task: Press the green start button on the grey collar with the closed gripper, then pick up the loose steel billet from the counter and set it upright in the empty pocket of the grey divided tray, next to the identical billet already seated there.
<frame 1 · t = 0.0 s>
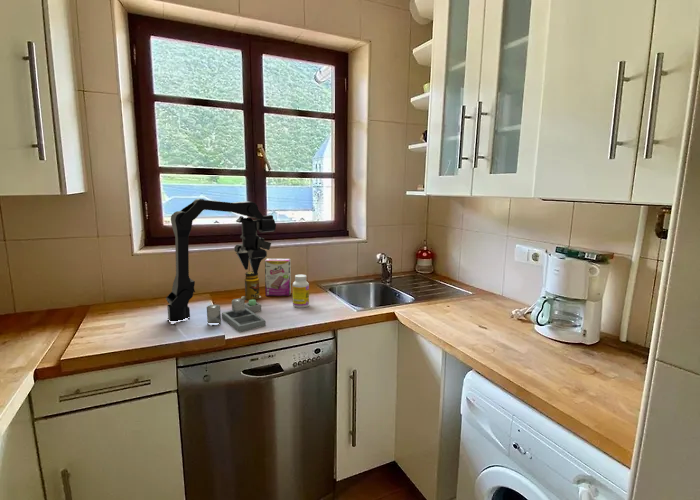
hand: (250, 271, 154), 15 cm above the counter, fingers open, 9 cm apart
condiment: (250, 299, 166), on the counter
supplement bottle: (301, 306, 158), on the counter
button collar: (252, 311, 150), on the counter
grey divided tray: (243, 323, 137), on the counter
candy bar box: (278, 295, 173), on the counter
start button: (252, 304, 150), point 3 cm above the counter, slide at 0.0 cm
billet: (214, 325, 135), on the counter
seated billet: (238, 318, 140), resting on grey divided tray
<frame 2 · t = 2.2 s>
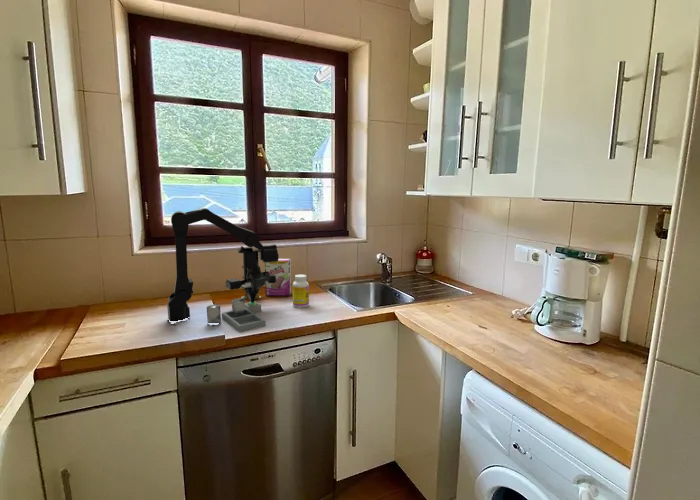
hand: (252, 302, 149), 4 cm above the counter, fingers closed, pressing on start button
start button: (252, 306, 150), point 2 cm above the counter, slide at 0.8 cm, touching gripper
everything else where it was.
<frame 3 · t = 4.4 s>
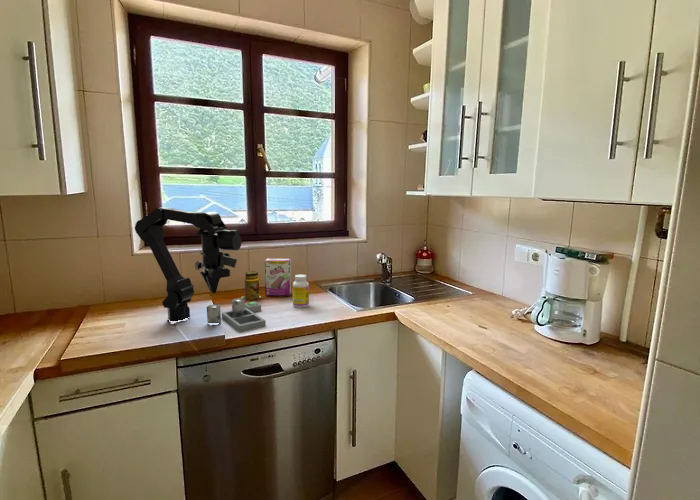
hand: (213, 292, 133), 12 cm above the counter, fingers closed
start button: (252, 306, 150), point 2 cm above the counter, slide at 0.9 cm
everything else where it was.
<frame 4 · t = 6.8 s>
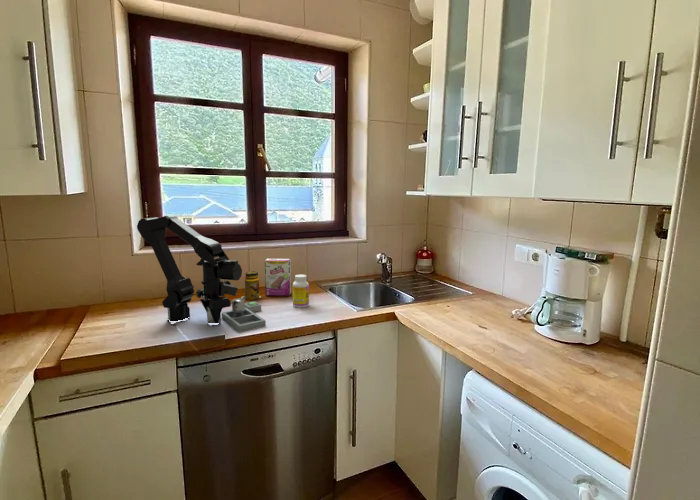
hand: (214, 321, 135), 2 cm above the counter, fingers closed on billet, 4 cm apart
billet: (214, 325, 135), on the counter, touching gripper
everything else where it was.
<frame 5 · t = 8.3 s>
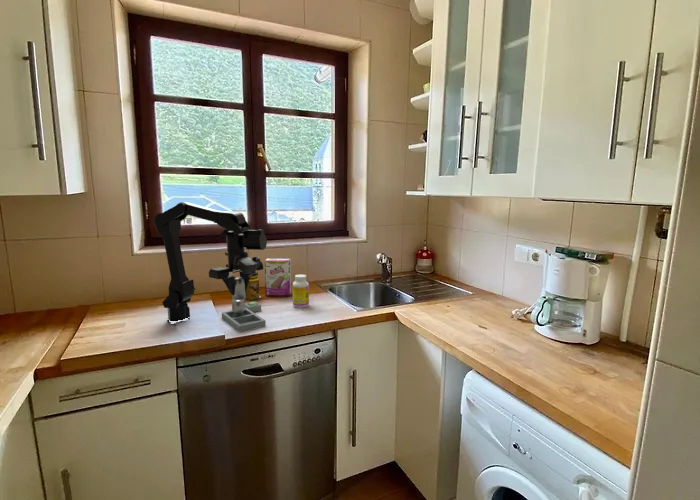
hand: (238, 293, 132), 12 cm above the counter, fingers closed on billet, 4 cm apart
billet: (238, 297, 133), point 10 cm above the counter, touching gripper
everything else where it was.
when the fingers open (4 cm above the counter, at t = 10.3 s): billet drops 2 cm, resting on grey divided tray.
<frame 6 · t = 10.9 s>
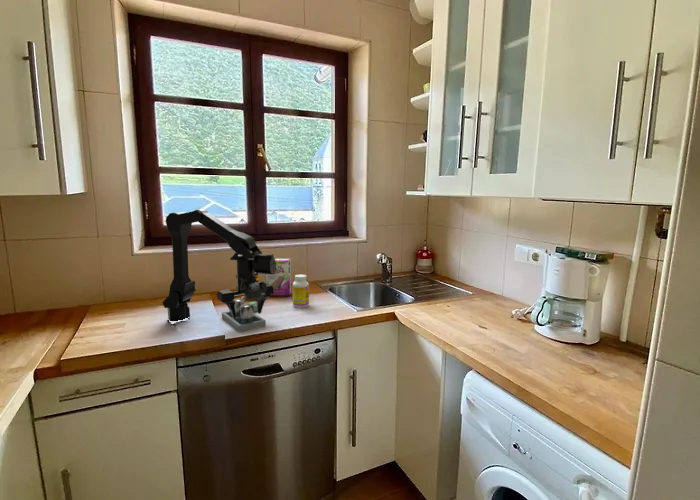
hand: (247, 316, 134), 4 cm above the counter, fingers open, 9 cm apart
billet: (247, 324, 134), point 1 cm above the counter, touching grey divided tray
everything else where it was.
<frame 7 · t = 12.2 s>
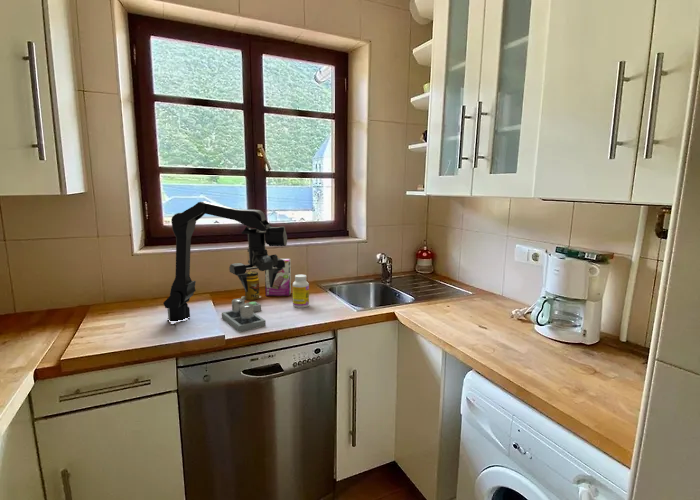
hand: (259, 289, 136), 13 cm above the counter, fingers open, 9 cm apart
nothing on the counter moved.
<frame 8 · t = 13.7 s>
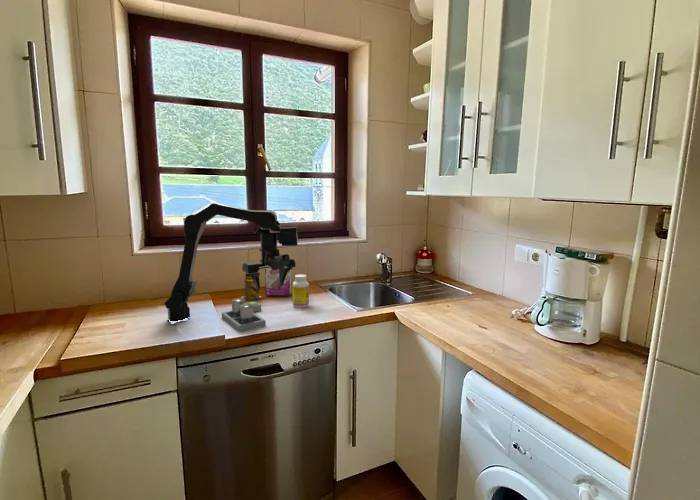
hand: (270, 287, 140), 12 cm above the counter, fingers open, 9 cm apart
nothing on the counter moved.
at the end: billet 0.1 cm from the target spot on the grey divided tray, point 0.6 cm above the grey divided tray's base; billet tilted 0°; start button slide at 0.9 cm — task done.
